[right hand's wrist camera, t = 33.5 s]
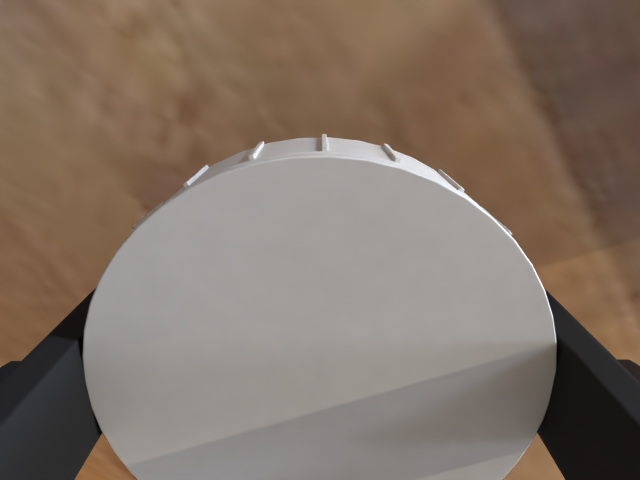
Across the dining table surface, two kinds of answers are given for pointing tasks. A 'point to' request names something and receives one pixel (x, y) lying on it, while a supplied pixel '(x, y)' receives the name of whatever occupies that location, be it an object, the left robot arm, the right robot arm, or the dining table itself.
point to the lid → (319, 325)
